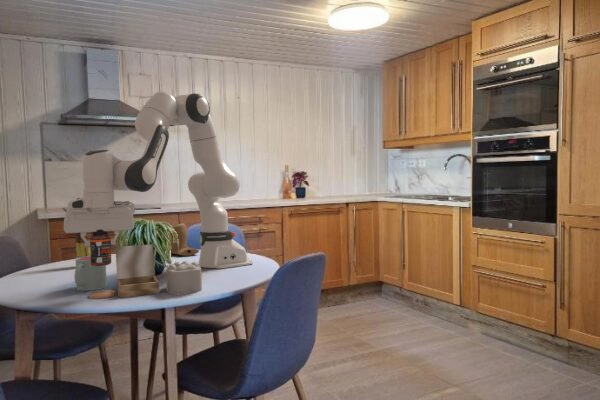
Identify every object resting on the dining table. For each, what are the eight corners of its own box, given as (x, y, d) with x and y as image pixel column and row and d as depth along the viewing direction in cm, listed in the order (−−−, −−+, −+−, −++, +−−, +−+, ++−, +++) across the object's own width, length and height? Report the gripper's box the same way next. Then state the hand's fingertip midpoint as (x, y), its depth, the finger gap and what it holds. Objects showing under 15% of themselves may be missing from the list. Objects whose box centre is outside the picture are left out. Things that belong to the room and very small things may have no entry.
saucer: (115, 291, 150) (115, 288, 150) (116, 296, 144) (116, 294, 143) (89, 294, 147) (89, 291, 147) (89, 299, 140) (89, 297, 140)
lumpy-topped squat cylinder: (172, 295, 145) (171, 267, 144) (163, 286, 156) (162, 261, 155) (204, 290, 150) (204, 264, 149) (193, 283, 161) (192, 258, 160)
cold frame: (153, 282, 162) (152, 244, 161) (159, 293, 147) (157, 250, 147) (116, 286, 157) (115, 246, 157) (118, 297, 143) (117, 253, 142)
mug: (86, 283, 162) (85, 255, 161) (111, 284, 161) (110, 255, 160) (62, 293, 148) (61, 263, 148) (89, 294, 147) (88, 263, 147)
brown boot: (161, 254, 221) (160, 223, 220) (184, 251, 229) (183, 221, 228) (176, 258, 210) (175, 225, 209) (200, 255, 218) (199, 223, 217)
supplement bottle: (104, 266, 141) (102, 229, 141) (86, 266, 143) (84, 229, 142) (115, 263, 147) (113, 227, 147) (98, 262, 148) (97, 227, 148)
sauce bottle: (92, 264, 199) (90, 218, 198) (94, 266, 193) (93, 219, 192) (75, 266, 195) (73, 219, 194) (77, 268, 190) (75, 220, 189)
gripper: (133, 200, 151) (135, 242, 152) (63, 202, 143) (65, 246, 144) (135, 201, 145) (136, 245, 146) (62, 203, 137) (63, 249, 138)
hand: (100, 246), depth 145 cm, fingers closed on supplement bottle, 6 cm apart
